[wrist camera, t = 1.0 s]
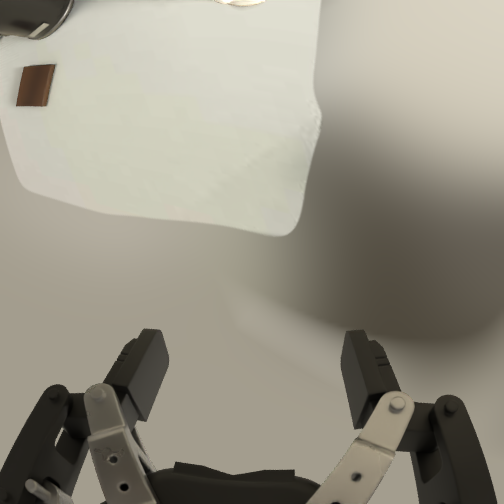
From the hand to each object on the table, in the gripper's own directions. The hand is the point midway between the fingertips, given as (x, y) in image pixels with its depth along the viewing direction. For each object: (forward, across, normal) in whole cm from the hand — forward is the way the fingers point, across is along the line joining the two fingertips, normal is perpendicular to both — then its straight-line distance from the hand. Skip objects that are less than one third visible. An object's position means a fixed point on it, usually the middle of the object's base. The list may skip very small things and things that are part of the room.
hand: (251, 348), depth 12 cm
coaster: (+20, +30, -22) cm, 42 cm away
